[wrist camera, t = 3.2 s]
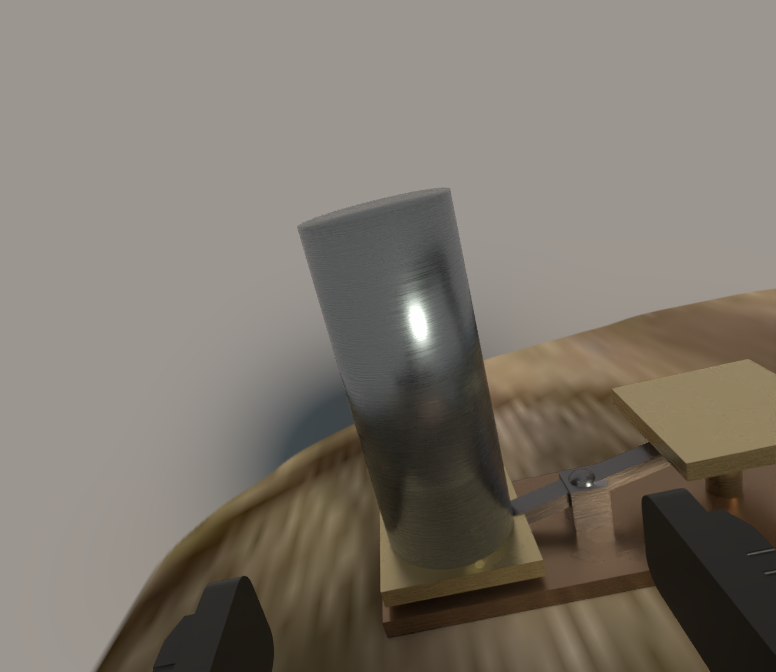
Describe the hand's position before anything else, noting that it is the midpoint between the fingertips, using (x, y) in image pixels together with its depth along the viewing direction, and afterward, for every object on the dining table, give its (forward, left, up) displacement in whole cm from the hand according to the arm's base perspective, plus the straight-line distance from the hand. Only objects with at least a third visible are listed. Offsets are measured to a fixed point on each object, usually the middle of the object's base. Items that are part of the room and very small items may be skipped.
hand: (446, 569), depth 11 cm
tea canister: (-7, -8, -8) cm, 13 cm away
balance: (-12, -4, -10) cm, 16 cm away
